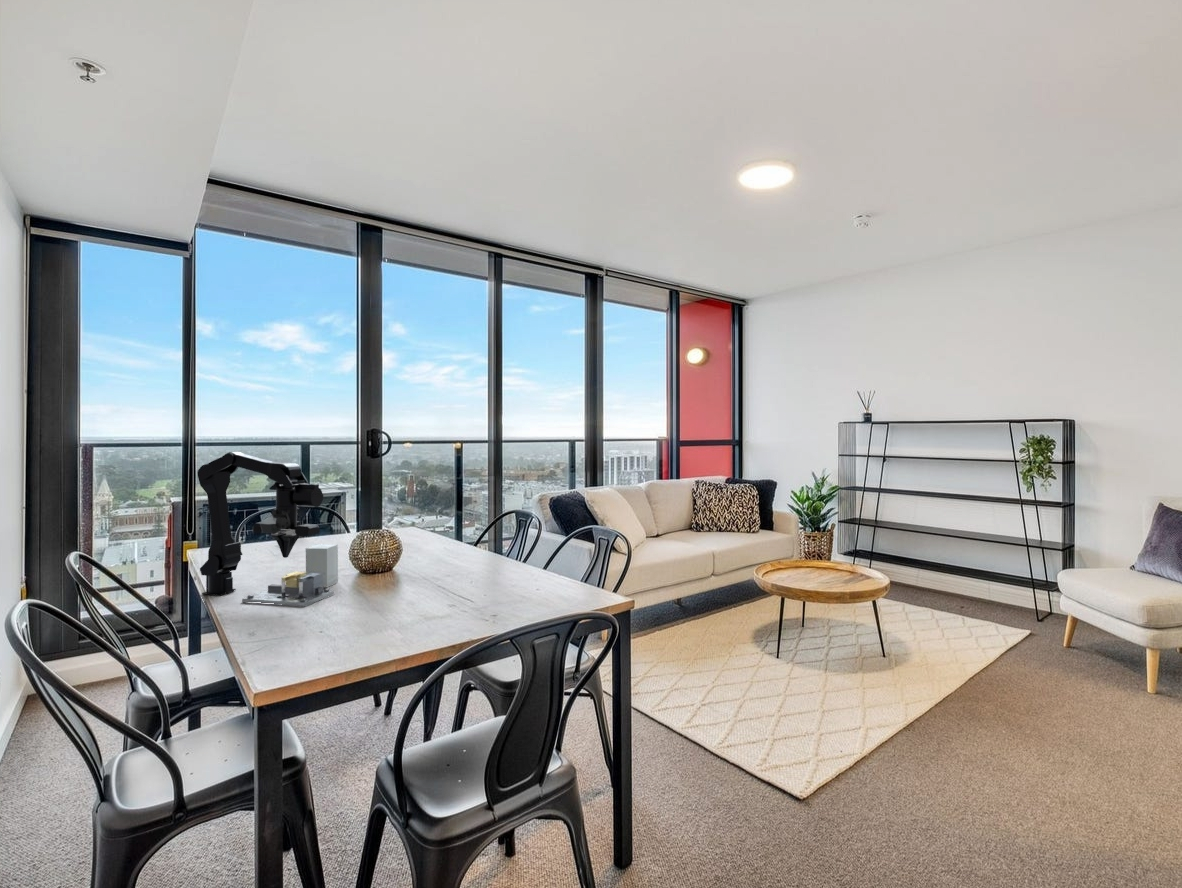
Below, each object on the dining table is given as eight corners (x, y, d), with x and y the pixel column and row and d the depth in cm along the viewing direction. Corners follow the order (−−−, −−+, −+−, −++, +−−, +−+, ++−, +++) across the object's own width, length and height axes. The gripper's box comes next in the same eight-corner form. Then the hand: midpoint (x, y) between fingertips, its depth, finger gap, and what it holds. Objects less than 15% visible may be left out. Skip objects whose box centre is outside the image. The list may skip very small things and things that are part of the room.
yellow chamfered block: (276, 595, 176) (276, 577, 176) (295, 588, 184) (295, 571, 184) (287, 596, 176) (287, 578, 176) (306, 589, 184) (306, 572, 184)
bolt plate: (242, 602, 174) (242, 578, 174) (276, 590, 188) (276, 568, 188) (304, 607, 171) (304, 582, 171) (334, 594, 184) (334, 571, 184)
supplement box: (338, 582, 200) (338, 544, 199) (326, 588, 192) (326, 548, 192) (317, 581, 200) (317, 543, 200) (304, 587, 193) (304, 547, 193)
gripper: (238, 506, 174) (237, 560, 175) (295, 510, 171) (294, 565, 171) (267, 502, 185) (265, 553, 186) (321, 505, 182) (319, 557, 182)
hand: (285, 557), depth 181 cm, fingers closed
